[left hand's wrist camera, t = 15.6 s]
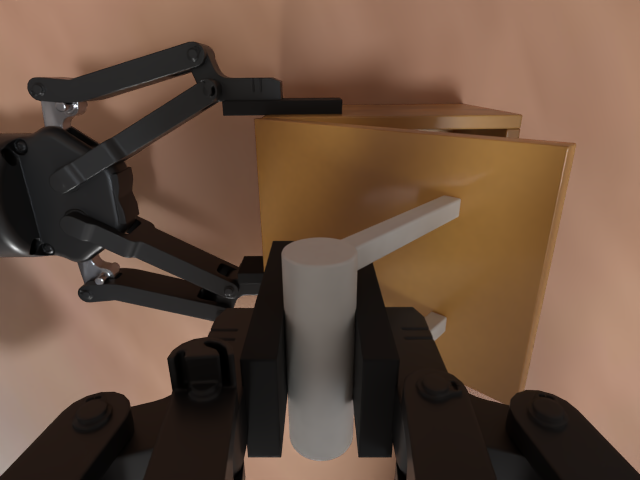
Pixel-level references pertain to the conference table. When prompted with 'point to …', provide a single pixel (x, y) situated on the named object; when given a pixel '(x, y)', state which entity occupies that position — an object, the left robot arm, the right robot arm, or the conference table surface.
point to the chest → (424, 118)
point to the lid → (406, 252)
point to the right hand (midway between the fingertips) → (339, 192)
